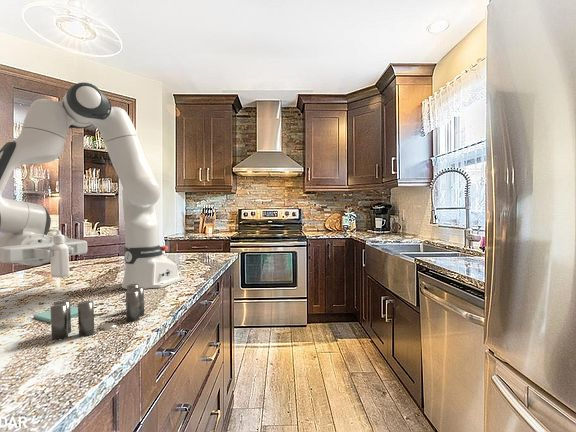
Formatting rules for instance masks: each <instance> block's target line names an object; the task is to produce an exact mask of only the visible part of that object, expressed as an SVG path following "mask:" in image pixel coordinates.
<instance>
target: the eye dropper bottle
mask: <svg viewBox="0 0 576 432" xmlns="http://www.w3.org/2000/svg"><path fill="white" fill-rule="evenodd" d="M52 236H53V243H54V245H53V246H51V248H50V249H52V250H54V256H53V257H50V260H51V261H50V275H51V277H52V278H59V279H60V278H66V277H70V256H69V250H68V247H67V245H65V244H64V243H65V238H64V236H65V235H64V234H62V231H61V230H59V229H58V230H57V231H56V234H55V235H52Z"/></svg>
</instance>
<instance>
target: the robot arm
mask: <svg viewBox="0 0 576 432" xmlns="http://www.w3.org/2000/svg"><path fill="white" fill-rule="evenodd" d="M61 99H62V100H59V101H56V100H52V99H49V98H38V99H35V100H34V101H33V102H32V103H31V105H30V106H29V108H28V110H27V112H26V115H25V118H24V120H23V123H22V126H21V131H20V132H19V133H20V134H19V135H18V137H16V139H15V140H13V141H8V142H5V144H3V146H2V147H1V148H0V233H1V234H2V235H0V263H2V264H3V263H4V264H17V265H18V264H20V265H24V266H25V265H26V266H31V267H36V266H37V267H38V266H41V265H44V264H46V263H51V260H50V257H53V256H54V250H52V249H50V248H51V246H53V245H54V243H53V236H54V235H48V233H50V230H51V229H50V228H51V224H52V219H51V215H50V213H49V212H48V209H46V207H45V206H44V205H43V204H39V203H34V202H29V201H22V200H17V199H11V198H6V197H3V192H4V191H5V188H6V186H7V183H8V181H9V179H10V178H11V175H12V173H13V171H14V170H15V169H16V168H18V167H20V166H23V165H37V164H38V165H39V164H47V163H51V162H53V161H55V160H57V159H59V158H60V157H61V155H62V154H63V151H64V148H65V143H66V138H67V134H68V133H67V132H68V131H69V129H87V128H89V127H91V126H94V127H95V128H97V130H98V132H99V133H100V134H101V136H102V137H101V138H102V140H103V142H104V146H105V148H106V151H107V154H108V156H109V159H110V161H111V165H112V166H113V169H114V170H115V172H116V174H117V178H118V179H119V182H120V184H121V186H122V193H121V195H122V207H123V219H124V237H125V240H124V241H125V245H124V246H125V247H124V248H123V251H124V252H123V254H124V256H123V257H124V265H125V267H124V274H123V275H124V276H123V278H122V284H121V289H125V290H127V285H130V284H139V287H143V288H144V290H145V289H146V290H147V289H160V288H164V287H167V286H169V285H172V284H175V283H179V282H181V281H183V280H186V278H185V277H186V276H184V275H180V274H179V269H178V266H177V264H176V263H175V262H174V261H173V260H171V259H169V258H168V257H167V256H166V255H164V252H168V250H169V246H168V245H162V246H160V245H159V244H160V243H159V240H160V239H159V223H158V217H157V211H156V203H157V202H158V201H159V199H160V196H161V187H160V185H159V183H158V180H157V178H156V176H155V175H154V172H153V170H152V167H151V165H150V164H149V162H148V159H147V158H146V156H145V152H144V149H143V146H142V143H141V141H140V138H139V136H138V133H137V130H136V128H135V126H134V123H133V121H132V119H131V118H130V116H129V114H128V113H127V111H126V110H125V109H123V108H122V107H119V106H112V102H111V101H110V100H109V99H108V98H107V97H106V96H105V94H104V92H102V91H101V89H100V88H98V87H97V85H95V84H92V83H89V82H78V83H75V84H73V85H71V86H70V87H69V88H68V90H67V91H66V92H65V94H64V96H63V98H61ZM3 233H4V234H3ZM64 238H65V243H64V244H65V245H67V247H68V250H69V257H70V256H76V255H77V256H78V255H84V254H87V253H88V242H87V240H84V239H78V238H69V236H67V235H64Z"/></svg>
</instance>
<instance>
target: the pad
mask: <svg viewBox="0 0 576 432" xmlns="http://www.w3.org/2000/svg"><path fill="white" fill-rule="evenodd" d="M70 309H71V319H72V318H76V317H78V306H73V305H70ZM33 319H36V320H40V321H43V322H47V323H50V324H51V310H47V311H44V312H40V313H35V314H33Z"/></svg>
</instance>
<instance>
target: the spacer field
mask: <svg viewBox="0 0 576 432" xmlns="http://www.w3.org/2000/svg"><path fill="white" fill-rule="evenodd" d="M53 304H54V305H50V308H49V309H50V311H51V323H50V329H51V332H50V333H51V341H54V340H57V341H60V340H59V339H62V340H65V339H68V337H69V334H71V333H72V318H71V309H70V306H71V300H67V299H65V300H64V299H63V300H58V301H55V302H53ZM94 306H95V305H94V301H93V300H86V301H85V300H84V301H79V302H78V303H77V307H78V316H77V318H78V321H77V322H78V326H77V327H78V336H79V337H82V336H83V337H89V336H92V335H94V334H95V312H94V311H95V310H94V309H95V307H94ZM125 313H126V315H125V316H126V322H128V323H133V322H137V321H139V320H141V319H140V318H141V317H143V316H145V289H144V288H143V287H139V284H130V285H127V289H126V291H125ZM88 335H89V336H88ZM64 338H65V339H64Z"/></svg>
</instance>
